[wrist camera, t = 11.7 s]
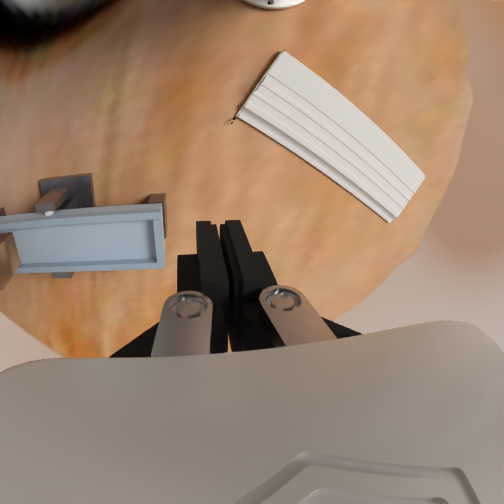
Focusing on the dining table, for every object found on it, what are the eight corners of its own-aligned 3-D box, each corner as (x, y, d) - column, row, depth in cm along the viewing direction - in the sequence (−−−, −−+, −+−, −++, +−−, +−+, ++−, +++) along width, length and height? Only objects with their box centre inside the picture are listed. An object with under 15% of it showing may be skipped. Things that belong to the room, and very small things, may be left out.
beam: (-28, 217, 28) (-38, 226, 26) (161, 199, 34) (159, 209, 31) (-13, 266, 32) (-21, 277, 30) (165, 259, 37) (164, 272, 35)
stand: (-10, 187, 32) (-38, 207, 26) (164, 168, 38) (159, 186, 31) (7, 257, 38) (-13, 285, 32) (168, 249, 44) (166, 280, 37)
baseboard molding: (382, 227, 50) (420, 173, 46) (391, 235, 48) (431, 178, 44) (228, 124, 37) (279, 51, 33) (231, 127, 35) (285, 48, 31)
